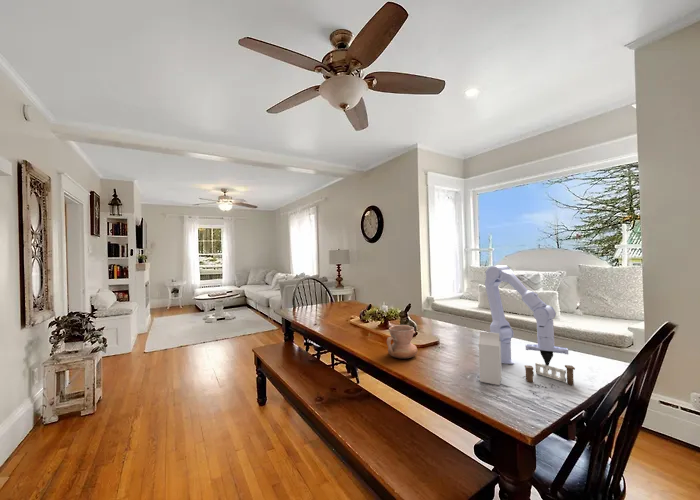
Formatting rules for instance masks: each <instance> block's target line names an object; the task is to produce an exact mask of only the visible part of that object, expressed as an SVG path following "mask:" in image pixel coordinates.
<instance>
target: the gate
mask: <svg viewBox="0 0 700 500" xmlns="http://www.w3.org/2000/svg"><path fill="white" fill-rule="evenodd" d="M541 368H542V369H543V370H541ZM548 369H549V370H548ZM549 371H551V373H549ZM557 373H559V376H557ZM535 374H537V375H539V376H543V377H545V378H546V377H547V378H550V379H554V380H557V381H559V382H563V383H567V377H566V375H567V369H566V370H565V369H562V368H558V367H554V366H552V365H549V366H548V365H545V363H540V362H535Z"/></svg>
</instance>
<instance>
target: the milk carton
mask: <svg viewBox="0 0 700 500" xmlns="http://www.w3.org/2000/svg"><path fill="white" fill-rule="evenodd" d="M478 364H479V365H478V367H479V368H478V369H479V382H481V383H485V384H493V385H496V386H500V385H501V382H502V378H503V377H502V376H503V374H502V373H503V372H502V363H501V341H500V337H499V333H491V332H490V331H489V332H488V331H479V337H478Z"/></svg>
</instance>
